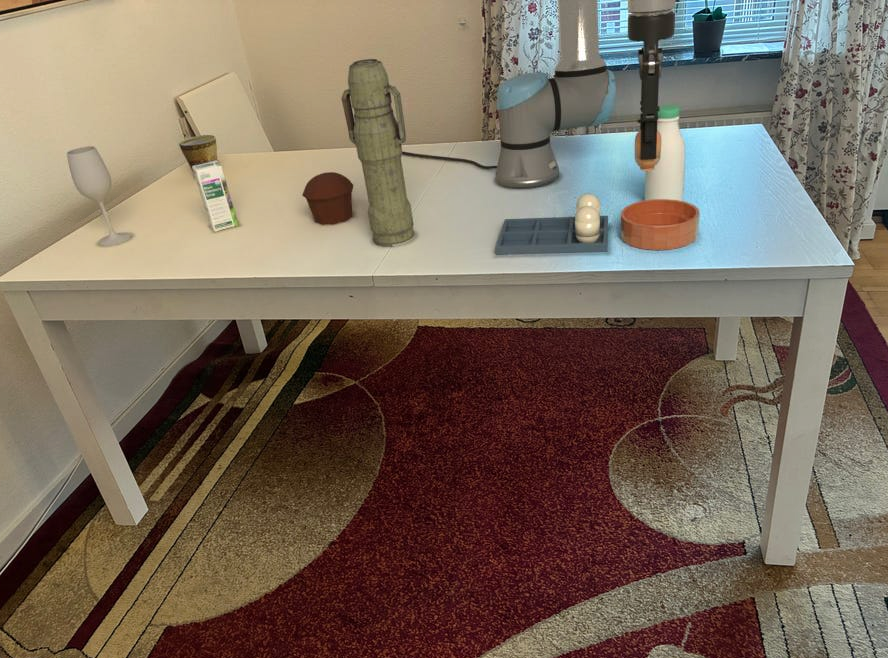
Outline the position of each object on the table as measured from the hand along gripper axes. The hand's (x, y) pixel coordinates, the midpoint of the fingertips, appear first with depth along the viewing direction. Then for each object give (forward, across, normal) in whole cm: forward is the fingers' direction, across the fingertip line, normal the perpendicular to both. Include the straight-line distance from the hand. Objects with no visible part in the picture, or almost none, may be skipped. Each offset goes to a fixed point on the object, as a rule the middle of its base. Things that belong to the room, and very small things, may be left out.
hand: (647, 153), depth 132 cm
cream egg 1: (+16, +4, +11) cm, 20 cm away
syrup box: (+16, +14, +95) cm, 98 cm away
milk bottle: (+16, +17, -4) cm, 24 cm away
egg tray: (+16, 0, +18) cm, 24 cm away
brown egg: (+3, 0, 0) cm, 3 cm away
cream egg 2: (+16, -3, +11) cm, 19 cm away
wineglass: (+16, +8, +120) cm, 122 cm away
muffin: (+16, +17, +69) cm, 73 cm away
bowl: (+16, 0, -2) cm, 16 cm away
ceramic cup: (+16, +54, +122) cm, 134 cm away
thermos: (+16, +4, +51) cm, 54 cm away
